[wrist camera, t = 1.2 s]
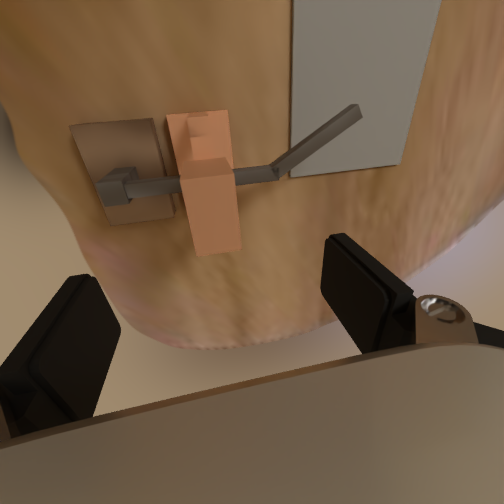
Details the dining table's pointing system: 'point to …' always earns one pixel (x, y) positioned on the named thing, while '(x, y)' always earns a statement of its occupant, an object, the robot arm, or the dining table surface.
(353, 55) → the mat
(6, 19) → the dining table surface
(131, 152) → the stand
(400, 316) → the robot arm
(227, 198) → the orange block
